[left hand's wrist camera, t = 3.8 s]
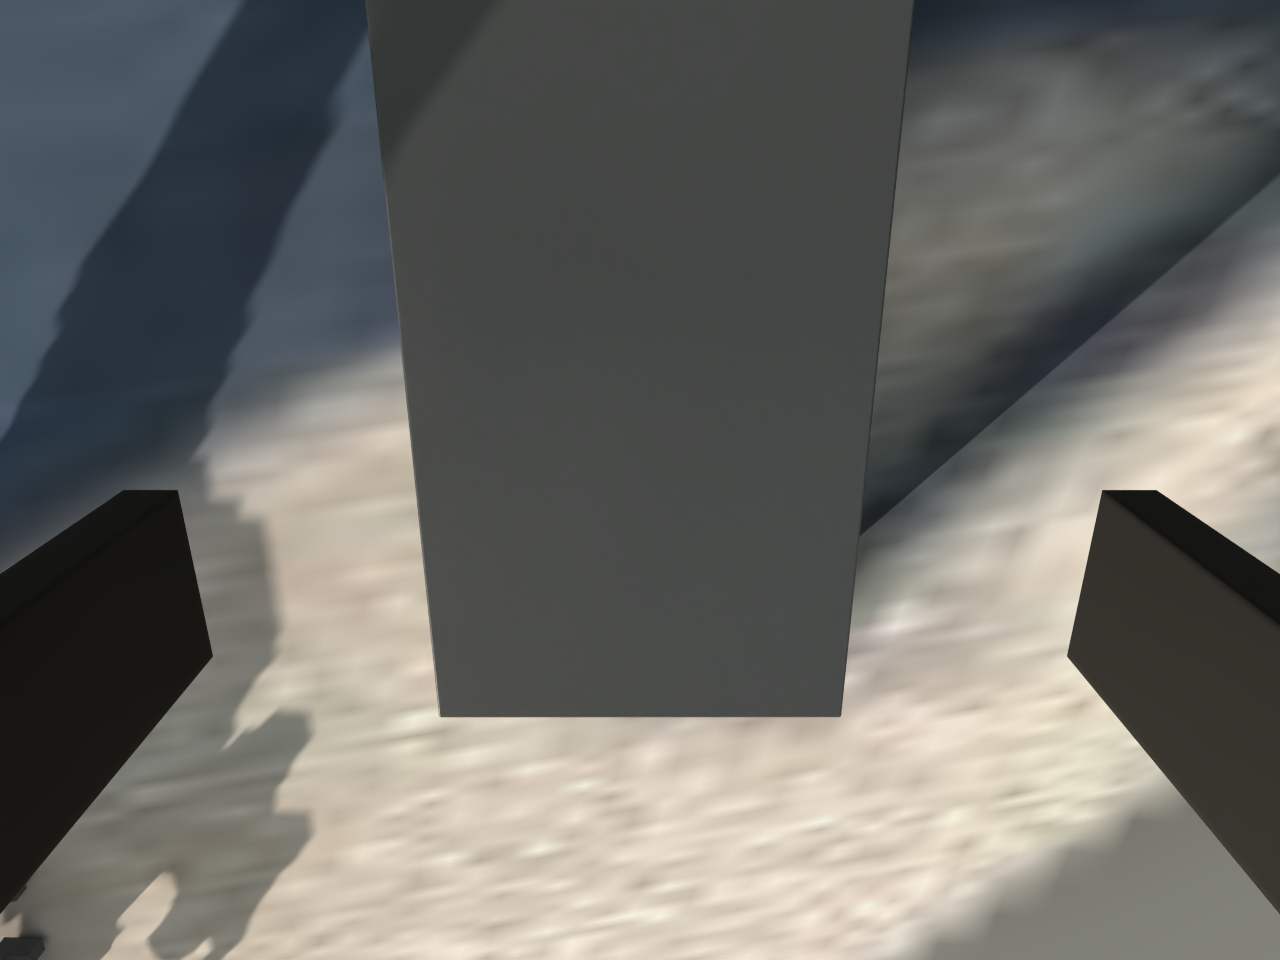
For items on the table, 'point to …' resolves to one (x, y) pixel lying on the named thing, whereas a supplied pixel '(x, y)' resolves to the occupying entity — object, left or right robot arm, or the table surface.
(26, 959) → the toy
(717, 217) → the thick board
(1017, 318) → the table surface
